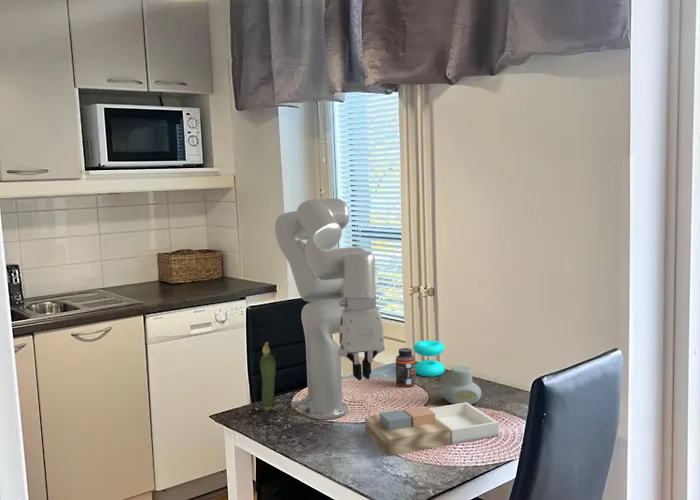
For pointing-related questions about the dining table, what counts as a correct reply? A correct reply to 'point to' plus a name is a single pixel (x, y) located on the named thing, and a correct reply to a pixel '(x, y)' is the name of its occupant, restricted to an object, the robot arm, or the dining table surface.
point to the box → (466, 422)
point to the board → (407, 436)
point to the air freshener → (461, 387)
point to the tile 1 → (395, 420)
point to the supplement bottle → (405, 368)
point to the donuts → (429, 366)
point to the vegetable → (267, 377)
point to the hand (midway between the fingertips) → (362, 377)
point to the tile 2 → (420, 415)
